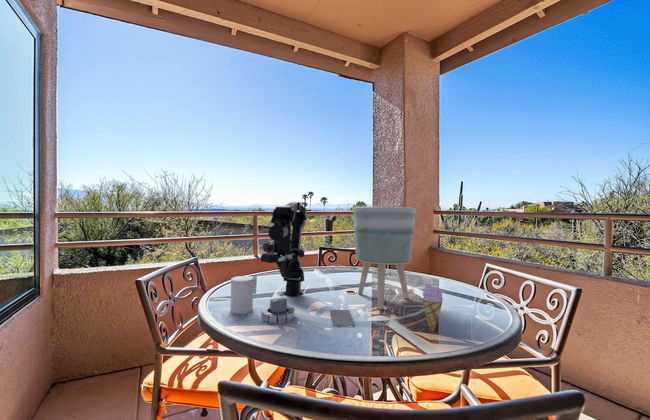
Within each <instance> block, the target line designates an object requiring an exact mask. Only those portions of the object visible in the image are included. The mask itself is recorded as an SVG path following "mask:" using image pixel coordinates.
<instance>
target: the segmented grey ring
mask: <svg viewBox="0 0 650 420" xmlns="http://www.w3.org/2000/svg"><path fill="white" fill-rule="evenodd" d="M260 312H261V313H260V314H261V317H260V318H261V320H262V321H263V322H266V323H268V324H284V323H288V322H292V321H293V319H294V318H295V317H296V316H295V315H296V311H295V308H294V307H293V306H291V305H288V304H287V312H286V313H281V314H272V313H270V305H268V306H265V307H263V308H262V309H261V311H260Z"/></svg>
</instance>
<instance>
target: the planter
mask: <svg viewBox="0 0 650 420" xmlns="http://www.w3.org/2000/svg"><path fill="white" fill-rule="evenodd" d="M352 211H353V215H352V216H353V231H354V246H355V259H356V260H357V261H358V262H362V263H363V265H362V268H361V269H362V270H361V275H360V281H359V285H358V290H357V294H358V295H363V293H364V288H365V286H366V282H367V279H368V275H369V270H370V267H371V264H373V265H377V309H378V310H384V302H385V301H384V300H385V283H386V270H387V268H386V267H387V266H390V265H391V266H393V265H395V267H396V271H397V274H398V280H399V282H400V287H401V290H402V295H403V298H404V299H406V300H409V298H410V296H409V291H408V284H407V279H406V273H405V266H404V265H406V264H410V263H411V261H412V254H413V253H412V251H413V240H414V234H415V232H414V231H415V220H416V212H417V211H416V207H408V206H406V207H403V206H402V207H401V206H399V207H398V206H354V207H352Z"/></svg>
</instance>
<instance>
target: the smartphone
mask: <svg viewBox="0 0 650 420" xmlns="http://www.w3.org/2000/svg"><path fill="white" fill-rule="evenodd" d="M329 312H330V318H331V323H333V325H332V327H333V326H337V327H336V328H342V327H341V326H353V327H352V328H355V327H356V324H355V322H354V319H353V317H352V313H351V311H350V310H349V309H330V311H329ZM338 326H339V327H338ZM354 326H355V327H354Z"/></svg>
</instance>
